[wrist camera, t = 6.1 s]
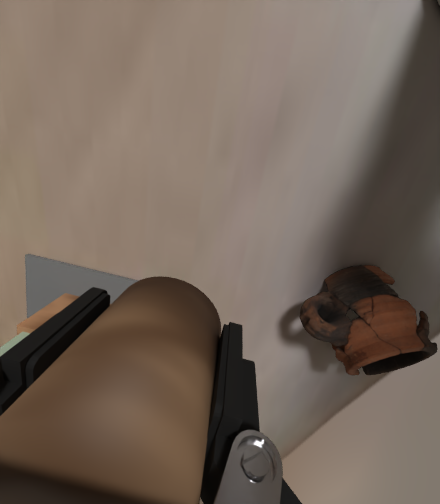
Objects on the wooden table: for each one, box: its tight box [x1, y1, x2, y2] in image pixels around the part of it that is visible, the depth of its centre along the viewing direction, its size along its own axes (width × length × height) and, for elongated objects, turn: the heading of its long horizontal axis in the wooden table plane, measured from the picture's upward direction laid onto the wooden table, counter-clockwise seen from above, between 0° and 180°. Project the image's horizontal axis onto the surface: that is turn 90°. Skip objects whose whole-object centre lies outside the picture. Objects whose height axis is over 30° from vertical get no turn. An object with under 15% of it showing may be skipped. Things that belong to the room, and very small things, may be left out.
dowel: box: [0, 277, 221, 504], centre depth 8 cm, size 5×5×6 cm
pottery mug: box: [300, 265, 437, 375], centre depth 22 cm, size 12×10×8 cm
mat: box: [25, 254, 138, 318], centre depth 27 cm, size 16×14×1 cm
